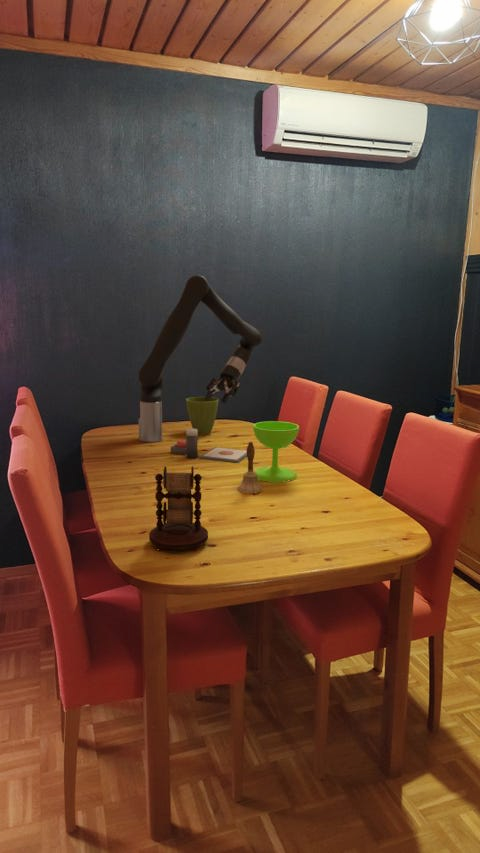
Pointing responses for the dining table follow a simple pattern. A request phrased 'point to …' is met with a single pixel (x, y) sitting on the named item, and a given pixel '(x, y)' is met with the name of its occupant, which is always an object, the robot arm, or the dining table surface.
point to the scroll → (178, 512)
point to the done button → (181, 443)
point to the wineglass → (275, 447)
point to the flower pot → (202, 413)
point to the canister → (191, 443)
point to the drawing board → (225, 455)
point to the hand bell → (250, 474)
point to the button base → (178, 450)
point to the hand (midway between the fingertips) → (214, 401)
